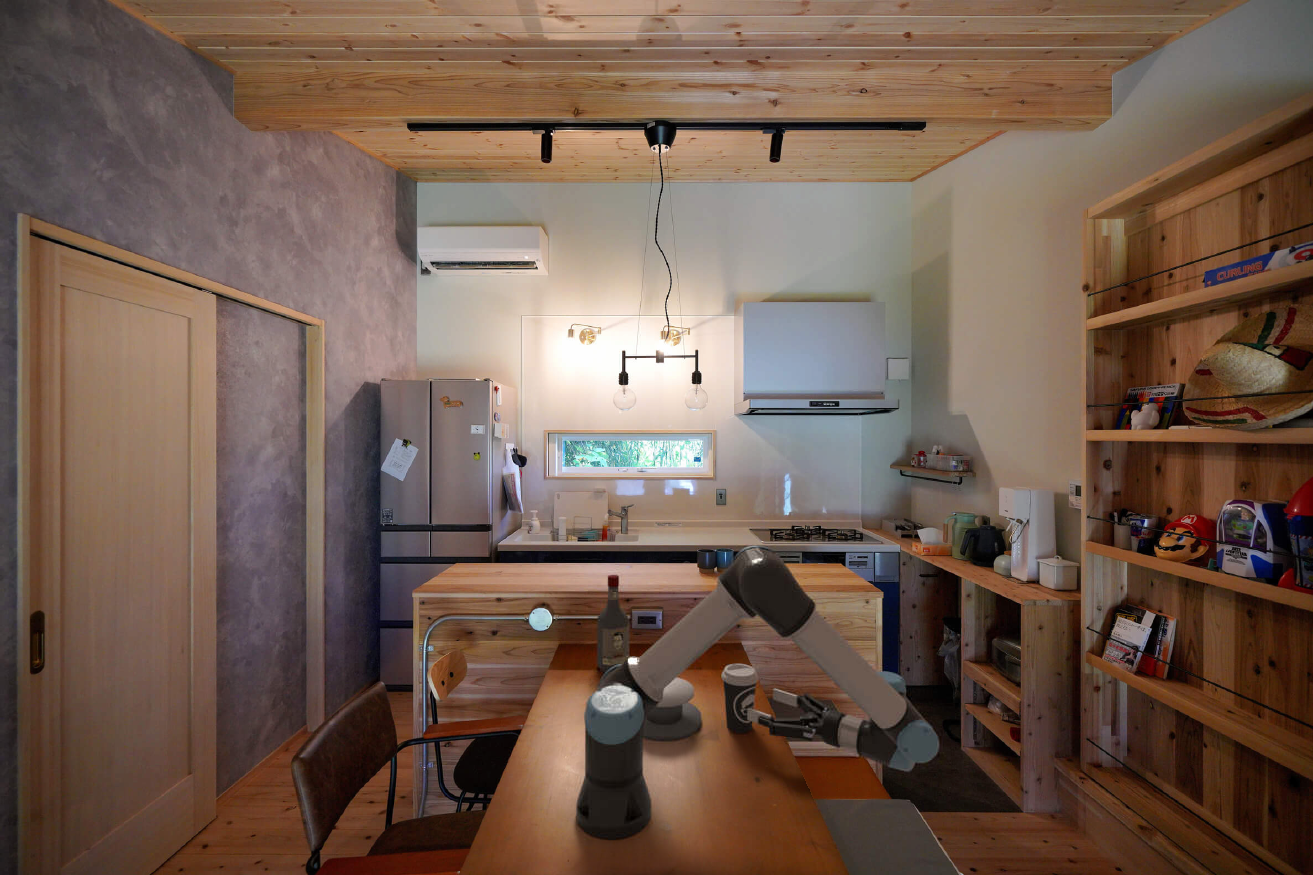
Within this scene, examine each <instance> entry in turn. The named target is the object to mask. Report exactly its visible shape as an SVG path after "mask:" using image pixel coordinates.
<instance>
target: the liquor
mask: <svg viewBox="0 0 1313 875" xmlns="http://www.w3.org/2000/svg"><path fill="white" fill-rule="evenodd" d="M619 577H620V576H619V575H617V574H609V575H608V576H607V587H608V588H607V603H606V606H605V607H604V608H603V609H602V610H601V612H599V614H598V617H597V621H596V622H597V623H596V624H597V625H596V626H597V627H596V628H597V629H596V630H597V631H596V632H597V633H596V636H597V637H596V639H597V640H596V641H597V642H596V651H597V652H596V656H597V657H596V661H597V662H596V665H597V666H598V668H599V669H600V670H601V672H602V673H604V674H605V673H606V672H607V671H608V670H609V669H610V668H612V667H614V666H616V665H618V664H622V663H624V662H625V661H626V660H627V659H628V658H629V657H630V618H629V615H628V614H627V613H626V612H625V611H624V610H623V608H622V607H621V606H620V603H619V586H620V578H619Z"/></svg>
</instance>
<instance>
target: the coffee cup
mask: <svg viewBox="0 0 1313 875" xmlns="http://www.w3.org/2000/svg"><path fill="white" fill-rule="evenodd" d="M721 680H722V681H723V691H724V692H723V693H724V706H725V717H726V718H725V719H726V728H727V729H728V730H729V731H730V732H733V733H737V734H746V733H748V732H750V731H751V730H752V729H753V722H752V721H750V720H748V708H751V709H754V710H755V708H754V707H755V698H756V696H755V695H756V688H757V687H756V686H757V683H758V681H759V677H758V674H757V672H756V670H755V668H754V667H753V666H752V665H748V664H744V663H732V664H727V665H726V666H725V667H724V669H723V671H722V673H721Z"/></svg>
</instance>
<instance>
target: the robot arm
mask: <svg viewBox="0 0 1313 875" xmlns="http://www.w3.org/2000/svg"><path fill="white" fill-rule="evenodd" d="M716 581H717V582H716V587H715V589H714V590H713V591H711V592H710V593H709V594H707V596H705V598H704V599H702V600H701V601H700V602H699V603H698V604H696V606H694V607H693V609H691V610H690V611H689V612H688V613H687V614H686V615H685V616H684V617H683V618H682V619H680V620H679V621H678V622H677V623H676V624H675V625H674V626H673V627H672V628H670V629H669V630H668V631H667V632H666V633H665V634H664V635H662V636H661V637H660V638H659V639H658V640H657V641H656V642H654V643H653V645H652V646H650V647H649V648H648V649H647V650H646V651H645V652H643V654H641V656H639V657H638V656H629V658H628V659H627V660H626V661H625V662H624V663H622V664H618V665H616V666H614V667H612V668H610V669H609V670H608V671H607V672H606V673H604V674H603V675H602V677H601V679H600V680H599V682H598V685H597V688H596V691H594V692H593V693H591V695H590V696H589V698H588V700H587V701H586V704H585V711H584V714H583V715H584V716H583V718H584V727H585V728H584V729H585V731H584V733H585V734H584V738H585V739H584V747H585V748H584V749H585V750H584V756H585V759H584V763H585V764H584V765H585V766H584V767H585V768H584V778H583V782H582V785H581V787H580V791H579V793H578V796H577V801H576V807H575V808H576V810H575V812H576V815H575V816H576V817H575V818H576V822H577V824H578V826H579V827H580V828H581V829H582V831H584V832H585V833H586V834H588V835H590V836H592V837H595V838H598V839H604V840H617V839H618V840H619V839H623V838H628V837H631V836H633V835H635V834H637V833H638V832H640V831H641V830H643V829H644V828H645V827H646V826H647V825H648V823H649V822H650V820H651V817H652V798H651V795H650V792H649V789H648V785H647V783H646V779H645V775H644V770H643V767H644V766H643V764H644V763H643V762H644V761H643V759H644V753H643V752H644V751H643V750H644V738H643V730H644V721H645V715H646V714H647V713H648V712H649V711H650V710H651V709H652V708H654V707H655V706H656V705H657V704H658V703H659V702H660V701H661V700H662V699H663V691H664V688H665V687H666V686H667V685H668V684H670V683H671V682H672V681H673V680H674V679H675V678H676V677H677V678H678V677H679V676H680V675H681V674H682V673H683V672H684V671H685V670H687V669H688V667H690V666H691V665H692V664H694V663H695V661H696V660H698V659H699V658H700V657H701V656H702V655H703V654H704V653H705V652H707V650H708V649H710V648H711V647H712V646H713V645H715V643H717V642H718V641H719V640H720V639H721V638H722V637H723V636H724V635H725V634H726V633H728V632H729V630H731V629H732V628H733V627H735V625H737V624H738V623H739V622H740V621H741V620H742V619H751V620H752V619H754V618H755V617H756V616H758V617H759V618H760V619H761V620H762V621H764V622H765V623H766V624H767V625H769V626H770V627H771V628H772V629H773V630H774V631H775V632H776V633H777V634H778V635H779V636H780V637H781V638H782V639H790V640H791V641H792V642H793V643H795V645H796V646H797V647H798V648H799V649H800V650H801V651H802V652H803V653H804V654H805V655H806V656H807V657H808V658H809V659H811V661H812V662H813V663H815V665H816V666H817V667H818V668H820V669H821V671H822V672H823V673H824V674H826V675H827V676H828V677H829V679H830V680H832V681H833V683H835V684H836V685H837V686H838V687H839V688H840V689H841V691H843V692H844V693H845V694H846V695H847V696H848V698H850V699H851V700H852V702H854V703H855V704H856V705H857V707H859V708H860V709H861V710H862V712H864V713H865V714H866V715H867V716H868V720H866V719H863V718H859V717H856V716H853V715H851V714H845V713H844V712H840V711H838V710H835V709H834V707H831V706H829V705H826V704H825V703H823V702H821V701H820V700H818V698H817V699H816V698H815V697H814V696H812V695H810V694H809V693H806V692H805V693H803V695H801V694H799V695H797V694H795V693H791V692H788V691H784V690H781V689H778V688H773V689H772V690H773V692H772V693H773V694H772V698H773V699H772V700H773V701H776V702H779V703H783V704H786V705H789V706H792V707H795V708H797V707H798V709H801V710H802V712H804V713H805V714H804V715H801V716H798V717H797V718H795V717H793V718H792V717H790V718H785V717H784V718H782V717H781V718H777V717H776V718H774V715H771V714H768V713H765V712H763V711H759V710H757V709H755V708H754V709H751V708H748V720H750V721H752V723H755V724H758V725H761V726H763V727H766V728H768V729H769V730H768V732H769V735H770V736H774V737H775V736H776V737H784V738H790V739H791V738H793V739H799V740H800V739H802V740H804V741H808V742H813V741H814V736H820V737H821V739H822V741H823V742H824V744H827V745H829V746H832V747H835V748H837V749H839V748H841V749H842V750H844V751H846V752H850V753H852V754H854V755H856V756H857V755H858V756H859V757H860V756H861V757H863V758H865V759H869V760H871V761H873V762H877V763H879V764H882V765H885V766H887V767H888V768H892V769H896V770H899V771H902V772H903V771H904V772H910V771H912V770H913V768H914V767H915V764H916V763H917V764H923V763H928V762H929V761H932V759H934V758H935V757H936V755H937V754H938V752H939V749H940V741H939V736H938V735H937V733H936V732H935V731H934V728H933V726H932V725H931V724H929V722H927V720H926V719H925V718H924V717H923V715H922V714H921V713H919V711H918V710H917V709H916V707H915V706H914V705H913V703H912V702H911V701H910V700H909V699H908V698H907V696H906V695H907V689H906V681H905V679H904V678H903V676H901V675H899V674H897V673H895V672H890V671H885V670H884V671H883V670H880V671H877V670H876V668H874V667H873V666H872V665H871V664H870V663H869V662H868V661H867V660H866V659H865V658H864V657H863V656H862V655H861V654H860V653H859V652H858V651H857V650H856V649H855V648H854V647H853V646H852V645H851V644H850V643H849V642H848V641H847V640H846V639H845V638H844V637H843V636H842V635H841V634H840V633H839V632H838V631H837V630H836V629H835V628H834V627H833V626H832V625H831V624H830V623H829V622H828V621H827V620H826V619H825V618H824V617H823V616H822V615H821V614H820V613H819V612H818V611H817V604H816V602H815V601H814V600H813V599H812V598H811V597H810V596H809V595H808V594H807V593H806V592H805V590H804V589H803V587H801V585H800V584H799V582H798V581H797V579H796V578H795V576H794V575H793V574H792V571H791V570H790V569H789V568H788V566H787V565H786V564H785V562H784V560H782V558H781V556H780V555H779V554H777V553H776V552H775V551H774V550H772V549H771V548H768V547H766V546H763V545H749V546H746V547H744V548H742V549H741V550H740V551H739V552H737V554H736V555H735V557H734V558H733V560H732V561H731V565H730V566H728V568H726V569H725V570H724V571H723V572H722V573H721V574H720V575H719V576H718V577H717V578H716Z"/></svg>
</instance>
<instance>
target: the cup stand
mask: <svg viewBox="0 0 1313 875" xmlns="http://www.w3.org/2000/svg"><path fill="white" fill-rule="evenodd" d="M694 696H695V689H694V686H693V685H692V683H690V682H689V681H688V680H686V679H683V678H681V677H678V676H677V677H676V678H675V679H674V680H673V681H672V682H671V683H670V684H668V685H667V686H666V687H665V688H664V691H663V699H662V700H661V701H660V702H659V703H658V704H657V705H656V706H655V707H654V708H652V709H651V710H650V711H649V712H648V713H647V714H646V715H645V721H644V730H643V739H647V740H651V741H656V742H657V741H658V742H671V741H678V740H683V739H685V738H688V737H690V736H693V735H694V734H696V733H697V731H699V730H700V728H701V726H702V713H701V711H700V709H699V708H698V707H697V706H696V705H694V704H692V703H691V702H690V701H691V700H692V699H693V698H694Z"/></svg>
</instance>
